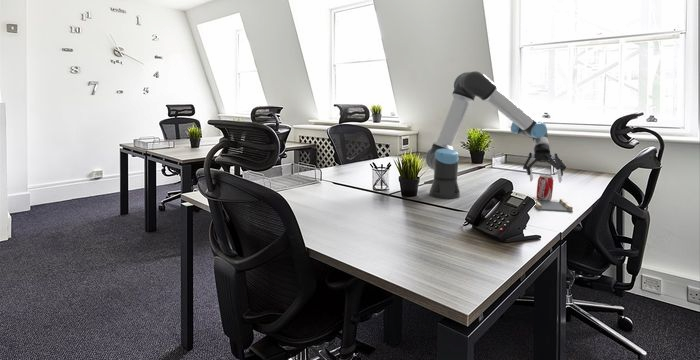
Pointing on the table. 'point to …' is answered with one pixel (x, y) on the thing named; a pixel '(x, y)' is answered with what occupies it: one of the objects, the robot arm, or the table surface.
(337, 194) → the table surface
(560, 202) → the guide rails
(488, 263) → the table surface
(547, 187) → the soda can
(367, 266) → the table surface
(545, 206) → the mat
